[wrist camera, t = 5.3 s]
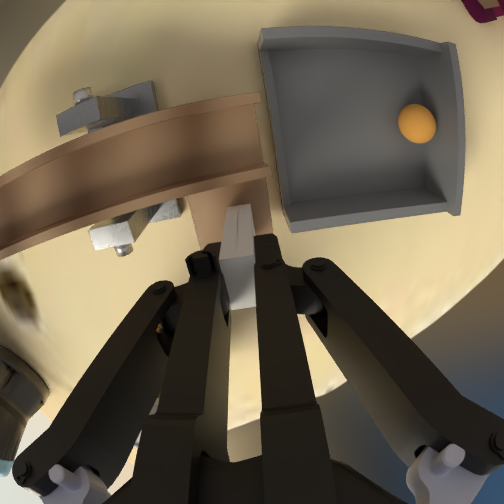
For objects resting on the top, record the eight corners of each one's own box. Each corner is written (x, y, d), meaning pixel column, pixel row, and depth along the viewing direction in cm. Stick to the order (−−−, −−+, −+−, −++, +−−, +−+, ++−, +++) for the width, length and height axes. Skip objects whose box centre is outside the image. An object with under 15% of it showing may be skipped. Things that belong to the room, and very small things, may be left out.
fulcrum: (118, 227, 22) (84, 266, 16) (86, 106, 17) (37, 110, 11) (181, 214, 22) (161, 253, 16) (152, 81, 17) (117, 70, 11)
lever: (9, 320, 17) (-4, 345, 14) (-43, 207, 11) (-66, 222, 8) (271, 249, 21) (289, 271, 18) (248, 96, 16) (265, 90, 13)
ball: (437, 143, 18) (402, 139, 20) (435, 106, 16) (399, 103, 18) (436, 148, 16) (396, 143, 18) (434, 105, 14) (393, 102, 16)
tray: (282, 212, 22) (293, 239, 18) (257, 43, 16) (262, 23, 11) (427, 195, 22) (460, 215, 17) (419, 50, 15) (455, 44, 11)
